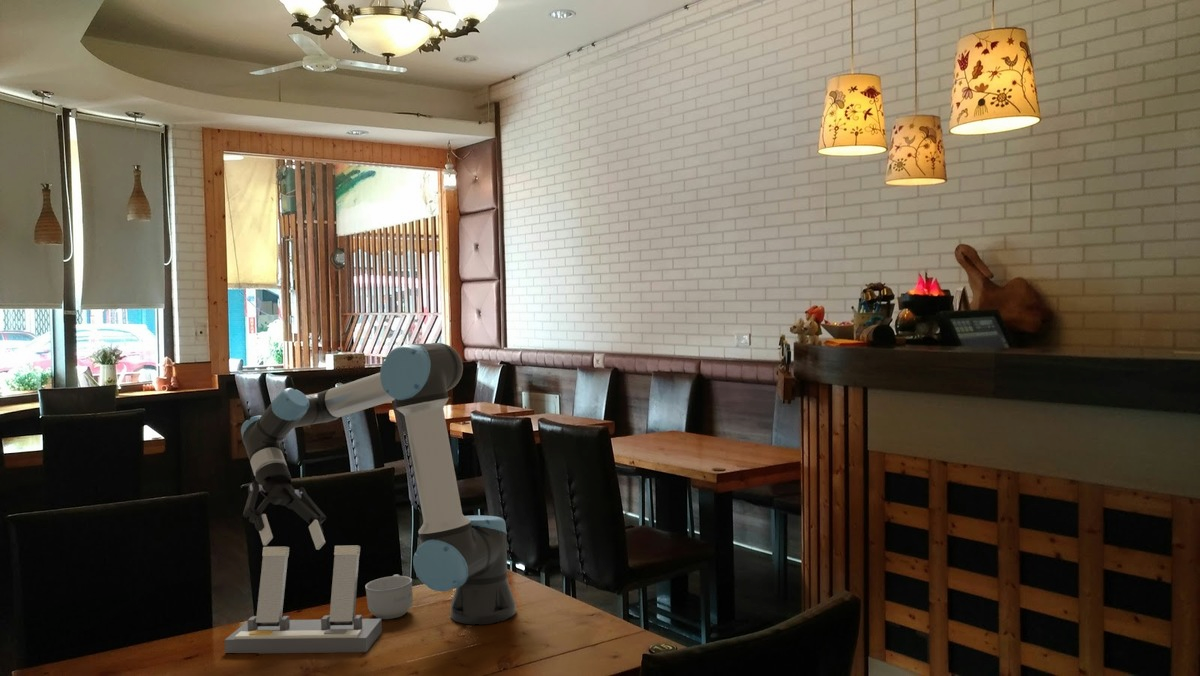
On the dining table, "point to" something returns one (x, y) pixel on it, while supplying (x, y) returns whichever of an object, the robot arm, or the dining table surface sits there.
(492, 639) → the dining table surface
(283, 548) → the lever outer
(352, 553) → the lever inner
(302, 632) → the grey stand base
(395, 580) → the teacup
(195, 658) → the dining table surface
